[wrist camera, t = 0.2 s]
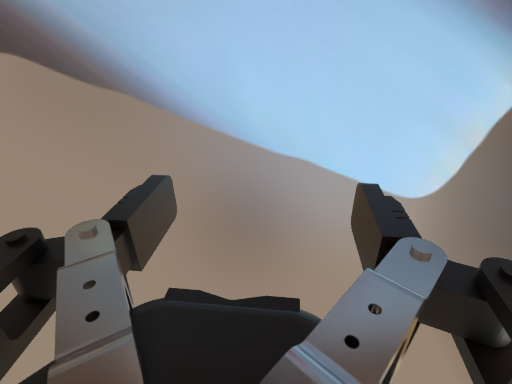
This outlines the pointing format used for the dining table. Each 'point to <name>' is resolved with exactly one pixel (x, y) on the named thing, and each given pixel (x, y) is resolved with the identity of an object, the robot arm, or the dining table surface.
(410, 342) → the robot arm
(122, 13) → the dining table surface
